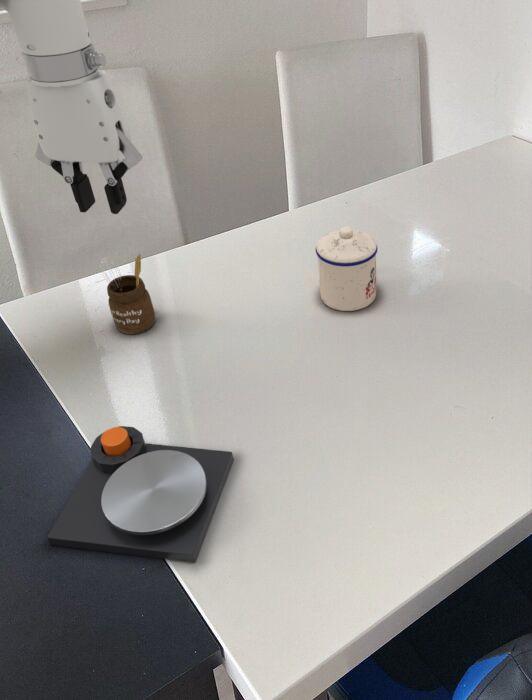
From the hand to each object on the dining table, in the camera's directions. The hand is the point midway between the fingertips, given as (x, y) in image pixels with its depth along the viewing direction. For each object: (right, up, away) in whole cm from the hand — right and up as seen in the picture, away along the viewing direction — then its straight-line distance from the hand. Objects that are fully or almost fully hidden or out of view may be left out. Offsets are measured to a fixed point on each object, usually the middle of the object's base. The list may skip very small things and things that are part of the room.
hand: (103, 207), depth 89 cm
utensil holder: (+1, -15, +12) cm, 19 cm away
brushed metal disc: (+11, -34, -16) cm, 39 cm away
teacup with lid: (+32, -10, +17) cm, 38 cm away
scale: (+10, -35, -13) cm, 39 cm away
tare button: (+5, -30, -10) cm, 32 cm away
